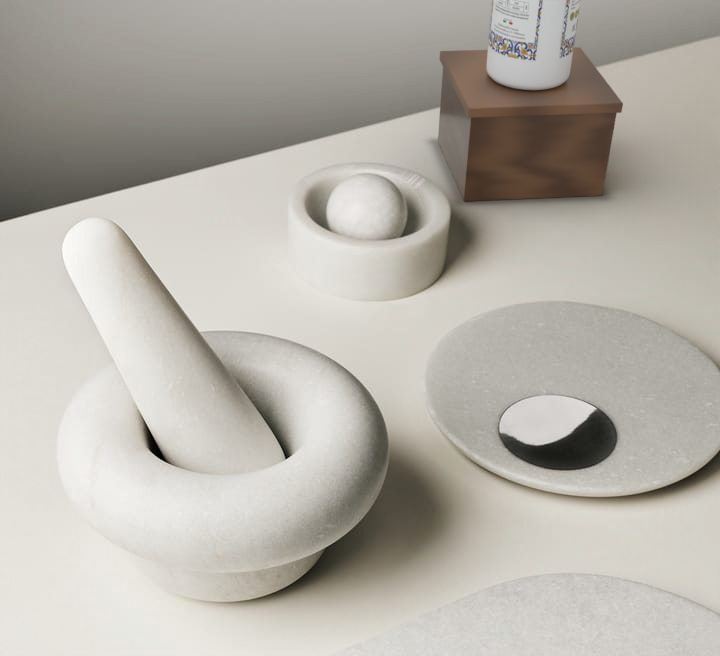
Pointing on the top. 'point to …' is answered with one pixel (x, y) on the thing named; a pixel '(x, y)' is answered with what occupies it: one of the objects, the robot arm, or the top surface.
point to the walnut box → (525, 131)
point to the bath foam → (531, 42)
